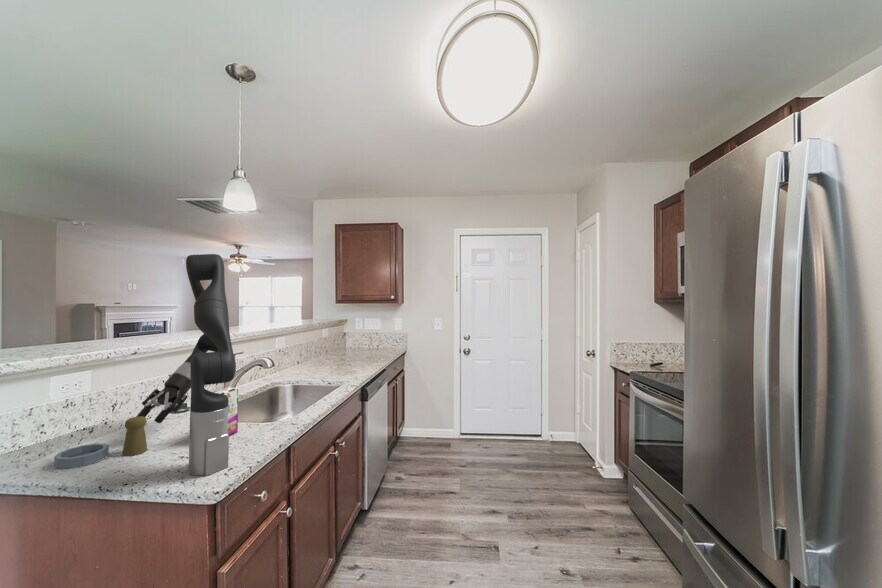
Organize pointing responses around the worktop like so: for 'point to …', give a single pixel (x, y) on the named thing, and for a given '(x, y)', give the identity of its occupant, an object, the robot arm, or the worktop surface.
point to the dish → (81, 455)
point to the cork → (135, 436)
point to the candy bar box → (231, 408)
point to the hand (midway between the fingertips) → (147, 420)
